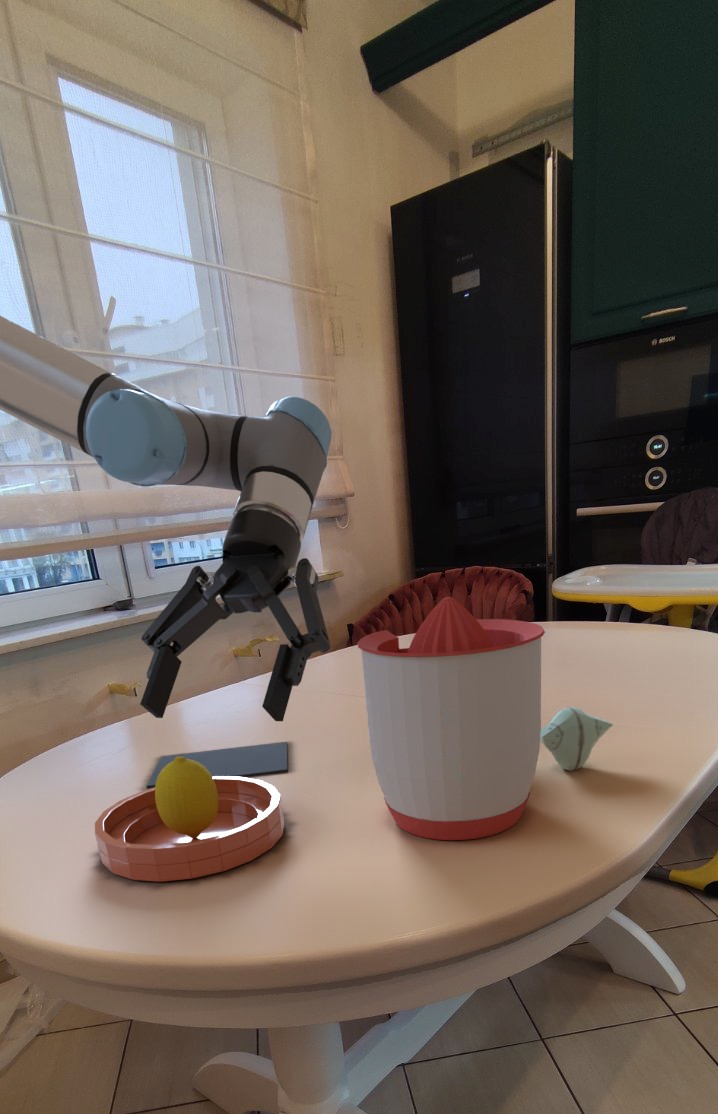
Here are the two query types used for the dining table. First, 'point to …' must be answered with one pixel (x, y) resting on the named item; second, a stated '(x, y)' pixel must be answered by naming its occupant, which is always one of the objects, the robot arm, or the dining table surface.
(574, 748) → the pale green angular piece
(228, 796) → the bowl
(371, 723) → the citrus juicer
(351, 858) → the dining table surface
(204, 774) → the lemon
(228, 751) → the mat
